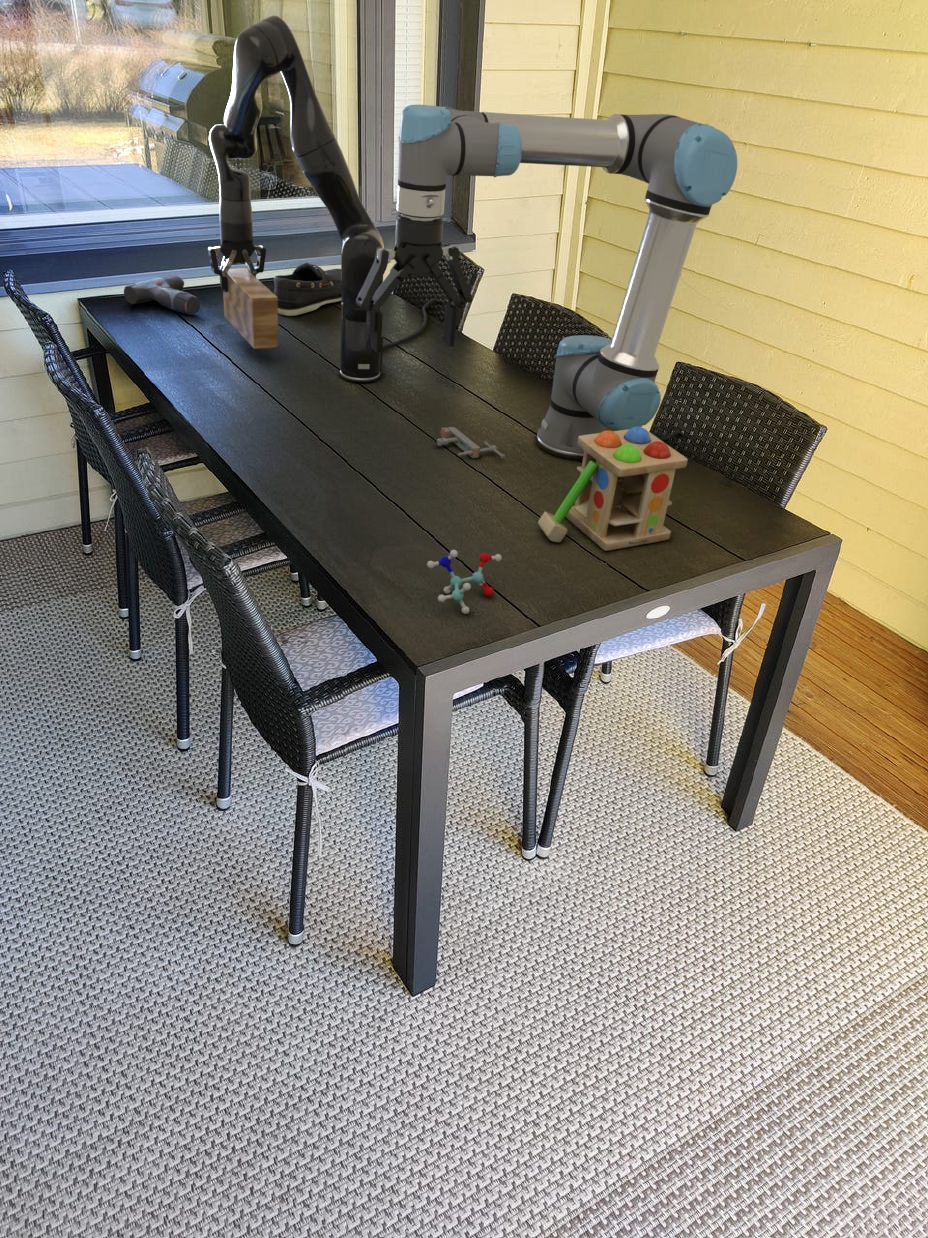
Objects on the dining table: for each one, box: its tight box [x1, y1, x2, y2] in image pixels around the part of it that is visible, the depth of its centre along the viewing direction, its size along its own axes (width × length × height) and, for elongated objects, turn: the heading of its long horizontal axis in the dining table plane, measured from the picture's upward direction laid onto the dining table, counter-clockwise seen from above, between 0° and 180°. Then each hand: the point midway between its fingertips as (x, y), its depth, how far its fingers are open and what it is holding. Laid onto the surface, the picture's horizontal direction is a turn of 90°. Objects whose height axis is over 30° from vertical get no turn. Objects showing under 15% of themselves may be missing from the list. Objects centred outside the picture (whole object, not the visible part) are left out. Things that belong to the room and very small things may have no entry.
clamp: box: [436, 426, 507, 460], centre depth 201 cm, size 15×2×10 cm
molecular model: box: [426, 549, 503, 615], centre depth 154 cm, size 12×10×10 cm
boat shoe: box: [272, 262, 342, 317], centre depth 274 cm, size 13×33×10 cm, turn 147°
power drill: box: [123, 275, 201, 316], centre depth 262 cm, size 5×19×20 cm
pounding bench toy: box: [537, 426, 689, 552], centre depth 173 cm, size 23×14×18 cm, turn 116°
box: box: [222, 267, 279, 350], centre depth 235 cm, size 24×6×12 cm, turn 27°
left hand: (238, 290), depth 240 cm, fingers closed on box, 6 cm apart
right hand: (412, 346), depth 167 cm, fingers open, 13 cm apart
